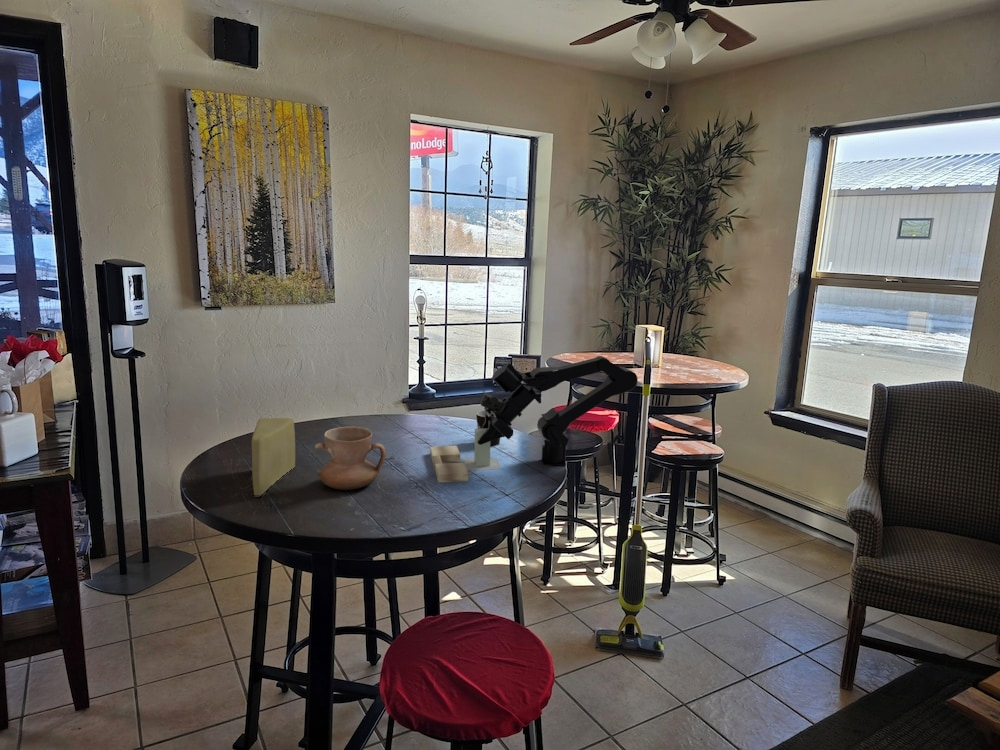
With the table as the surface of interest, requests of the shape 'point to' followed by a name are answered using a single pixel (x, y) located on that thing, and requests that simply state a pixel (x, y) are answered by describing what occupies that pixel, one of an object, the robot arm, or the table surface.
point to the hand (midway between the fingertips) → (477, 441)
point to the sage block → (481, 449)
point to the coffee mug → (480, 422)
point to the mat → (471, 466)
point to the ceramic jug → (349, 458)
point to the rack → (448, 464)
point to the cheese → (272, 451)
